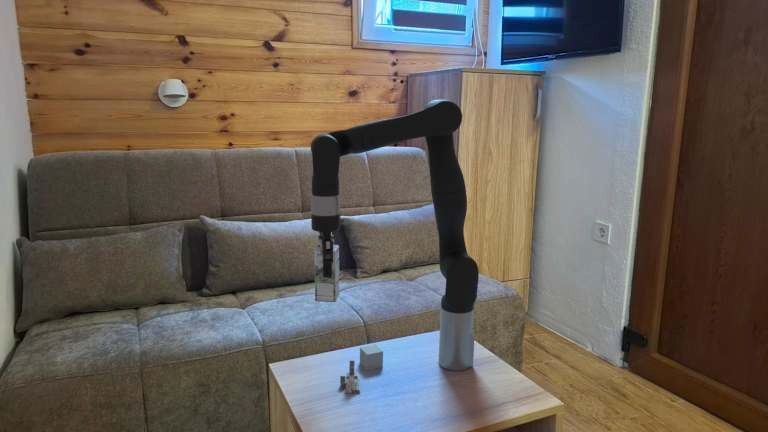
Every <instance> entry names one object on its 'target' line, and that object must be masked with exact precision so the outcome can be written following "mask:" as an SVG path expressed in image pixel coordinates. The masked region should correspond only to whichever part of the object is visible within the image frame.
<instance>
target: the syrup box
mask: <svg viewBox="0 0 768 432" xmlns="http://www.w3.org/2000/svg"><path fill="white" fill-rule="evenodd" d="M333 247H334V251H333V252H334V253H333V263H332V277H329V278H324V277H323V263H322V261H323V259H322V255H321V254H320V245H319V244H318V245H317V246H316V247H315V248H314V249H313V251H314V255H313V256H314V301H315V302H322V303H323V302H325V303H326V302H327V303H336V302H337V301H338V298H339V296H340V245H339V244H333ZM322 250H323V249H322ZM328 258H330V255H325V259H328Z"/></svg>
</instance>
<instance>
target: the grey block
mask: <svg viewBox="0 0 768 432" xmlns="http://www.w3.org/2000/svg"><path fill="white" fill-rule="evenodd" d="M359 363H360V365H361V366H362V367H363V368H364V370H365V371H371V370H376V369H380V368H384V367H383V365H384V350H382V349H381V348H380V347H379V346H378V345H377V344H371V345H366V346H361V347H359Z"/></svg>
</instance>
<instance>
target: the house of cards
mask: <svg viewBox="0 0 768 432" xmlns="http://www.w3.org/2000/svg"><path fill="white" fill-rule="evenodd" d="M348 367H349V370H348V371H349V372H346V375H340V376H339V383H340V389H345V394H352V393H353V394H356V393H357V394H359V393H361V388H360V386H361V382H360V375H358V372H355V370H356V369H355V360H349V366H348Z"/></svg>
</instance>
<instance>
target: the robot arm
mask: <svg viewBox="0 0 768 432" xmlns="http://www.w3.org/2000/svg"><path fill="white" fill-rule="evenodd" d="M462 122H463V113H462V110H461V108H460V106H459V105H458V103H455V102H454V101H452V100H448V99H433V100H431V101H429V102H428V103H427V104H426V105H425V106H424V107H423V109H422V110H419V111H416V112H413V113H410V114H407V115H403V116H402V115H401V116H398V117H392V118H385V119H379V120H375V121H370V122H367V123H366V122H365V123H363V124H358V125H354V126H352V127H349V128H345V129H342V130H334V131H329V132H324V133H321V134H319V135H316V136H315V137H314V138H313V139H312V141H311V144H310V151H311V155H312V157H311V158H312V177H311V202H310V214H311V215H310V216H311V219H310V220H311V223H310V224H311V230H312V231H313V232H317V233H319V235H317V241H318V245H320V254H321V255H322V259H323V261H322V263H323V277H324V278H329V277H332V263H333V253H334V252H333V251H334V247H333V245H335V244H334V243H335V237H334V234H332V233H333V232H337V231H339V230H340V229H341V199H340V178H339V171H340V163H341V161H340V160H341V158H342V157H343V156H344V157H345V156H348V155H353V154H354V155H358V154H363V153H367V152H370V151H371V152H372V151H374V150H378V149H382V148H384V147H387V146H391V145H394V144H397V143H402V142H405V141H409V140H414V139H419V138H425V143H426V146H427V151H428V163H429V165H428V166H429V174H430V175H429V176H430V185H431V197H432V204H433V209H434V216H435V222H436V228H437V233H438V248H439V250H438V251H439V252H438V255H439V258H438V259H439V263H438V264H439V270H440V273H441V275H442V276H443V277H444V278H445V292H444V294H443V295H442V297H441V299H440V320H439V321H440V322H439V323H440V325H439V342H438V343H439V347H438V364H439V366H440V367H441V368H444V369H446V370H449V371H458V372H459V371H465V370H468V369H469V368H474V356H475V355H474V354H475V353H474V352H475V338H476V337H475V335H474V334H473V326H474V310H475V309H474V308H475V306H474V305H475V303H476V301H477V296H478V289H479V275H480V273H479V266H478V263H477V262H476V261H475V260H474V258H472V257H471V256H470V255H469V254H468V251H467V246H466V241H465V234H464V229H465V222H466V219H467V218H466V217H467V211H468V199H467V198H468V197H467V189H466V182H465V177H464V174H463V171H462V168H461V165H460V163H459V160H458V158H457V154H456V150H455V144H454V133H455V132H456V131H458V129H459V128H460V126H461V125H462ZM322 249H323V250H322ZM325 255H330V258H328V259H325Z"/></svg>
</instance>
